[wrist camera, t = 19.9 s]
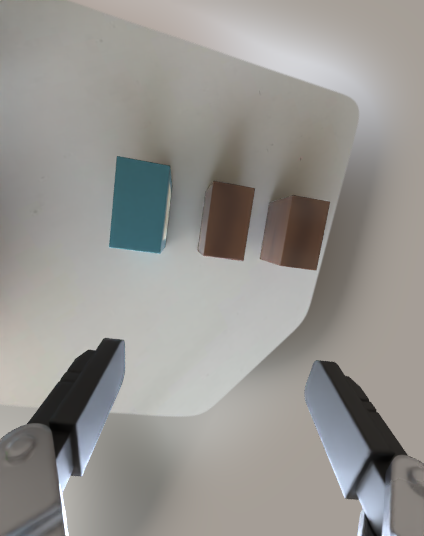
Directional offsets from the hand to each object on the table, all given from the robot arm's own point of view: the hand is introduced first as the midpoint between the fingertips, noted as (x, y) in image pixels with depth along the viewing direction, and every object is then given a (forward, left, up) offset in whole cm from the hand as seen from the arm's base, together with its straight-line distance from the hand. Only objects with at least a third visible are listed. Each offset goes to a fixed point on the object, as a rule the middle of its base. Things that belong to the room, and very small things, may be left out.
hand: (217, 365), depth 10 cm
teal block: (+9, +2, -24) cm, 26 cm away
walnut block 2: (0, -14, -24) cm, 28 cm away
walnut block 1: (+5, -6, -24) cm, 25 cm away
